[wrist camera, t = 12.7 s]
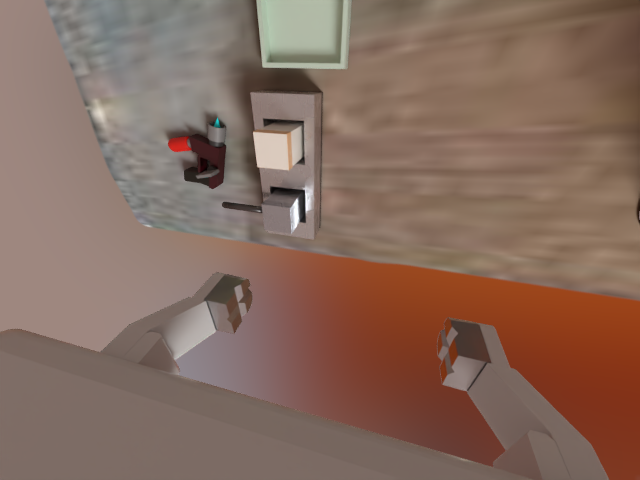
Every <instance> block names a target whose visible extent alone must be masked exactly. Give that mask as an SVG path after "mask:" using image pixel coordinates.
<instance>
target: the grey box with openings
mask: <svg viewBox="0 0 640 480" xmlns="http://www.w3.org/2000/svg"><path fill="white" fill-rule="evenodd" d="M250 94H251V102H252V111H253V119H254V127H255V130H257V129H261V128H263V127H265V126H268V125H270V124H272V123H274V122H277V121H279V120H283V121H300V122H304V150H305V155H304V156H303V157H302V158H301V159H300V160H299V161H298V162H297V163H296V164H295V165H294V166H293V167H292V168H291V169H290V170H280V169H270V168H260V167H259V168H260V177H261V185H262V193H263V202H262V203H261V204H262V207H260V206H253V205H245V204H238V203H230V202H223V203H222V206H223V207H224V208H229V209H236V210H243V211H251V212H258V213H263V220H264V228H265V230H267V232H269V233H275V234H282V235H288V236H295V237H301V238H308V239H315V237H316V235H317V233H318V231H319V228H320V215H321V156H322V96H323V92H304V91H277V90H261V91H255V92H250Z"/></svg>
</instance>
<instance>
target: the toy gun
mask: <svg viewBox="0 0 640 480" xmlns="http://www.w3.org/2000/svg"><path fill="white" fill-rule="evenodd" d="M225 134H226V126H225V125H223V128H220V124H219V121H218V117H217V120H216V122H208V138H206V137H204V136H201V135H199V134H195V135H192V136H186V137H178V138H172V139H170V140H169V142H168V146H169V148H170V149H171V150H172V151H175V152H180V151H189V150H192V151H193V152H196V153H198V154H199V155H198V168H195V167H190V168H188V169H186V170H185V171H184V179H185V181H190V182H197V183H202V184H204V185H207V186H209V188H211V189H214V188H216V187H217V186H219V185H220V184H222V183H223V179H224V164H225V154H226V145H224V144H223V143H224V142H225ZM208 160H209V161H210V166H209V167H208Z"/></svg>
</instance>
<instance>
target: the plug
mask: <svg viewBox="0 0 640 480" xmlns="http://www.w3.org/2000/svg"><path fill="white" fill-rule="evenodd" d="M253 136H254V144H255V152H256V160H257V167H260V168H270V169H280V170H290V169H291V168H292V167H293V166H294V165H295V164H296V163H297V162H298V161H299V160H300V159H301V158H302V157H303V156H304V155H305V150H304V122H300V121H283V120H279V121H277V122H274V123H272V124H270V125H268V126H265V127H263V128H261V129H257V130H255V131H253Z"/></svg>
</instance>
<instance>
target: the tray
mask: <svg viewBox="0 0 640 480" xmlns="http://www.w3.org/2000/svg"><path fill="white" fill-rule="evenodd" d="M256 1H257V12H258V23H259V33H260V44H261V55H262V66H263V67H264V68H318V69H347V67H348V51H349V35H350V19H351V3H352V0H256Z"/></svg>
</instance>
